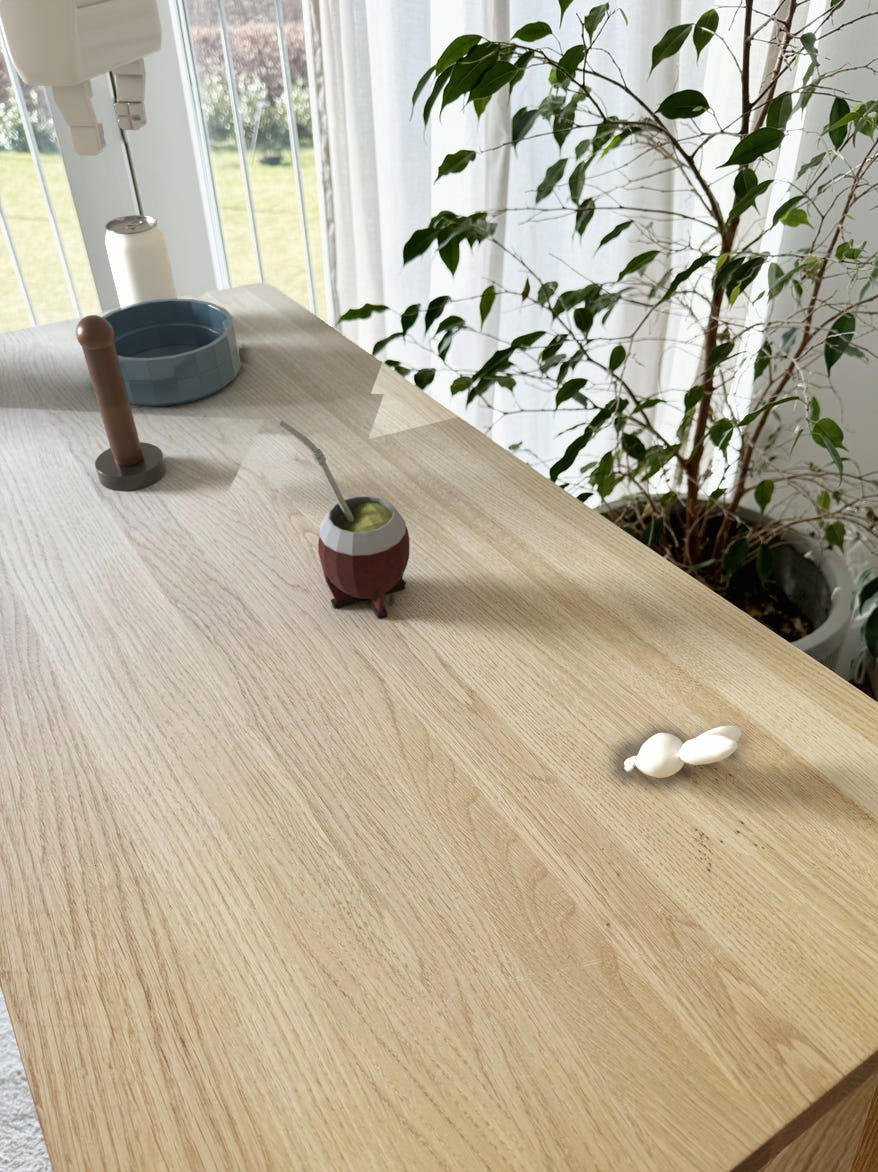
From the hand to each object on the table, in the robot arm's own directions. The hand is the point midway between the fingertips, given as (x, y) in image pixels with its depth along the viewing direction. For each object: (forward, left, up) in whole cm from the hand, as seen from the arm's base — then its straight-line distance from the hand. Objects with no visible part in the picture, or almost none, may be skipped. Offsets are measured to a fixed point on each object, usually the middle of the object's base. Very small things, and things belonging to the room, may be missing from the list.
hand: (113, 140), depth 72 cm
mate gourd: (+18, -13, -31) cm, 38 cm away
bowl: (-10, +23, -30) cm, 39 cm away
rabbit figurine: (+43, -30, -31) cm, 61 cm away
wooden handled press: (-6, +1, -30) cm, 31 cm away
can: (-16, +35, -31) cm, 49 cm away
